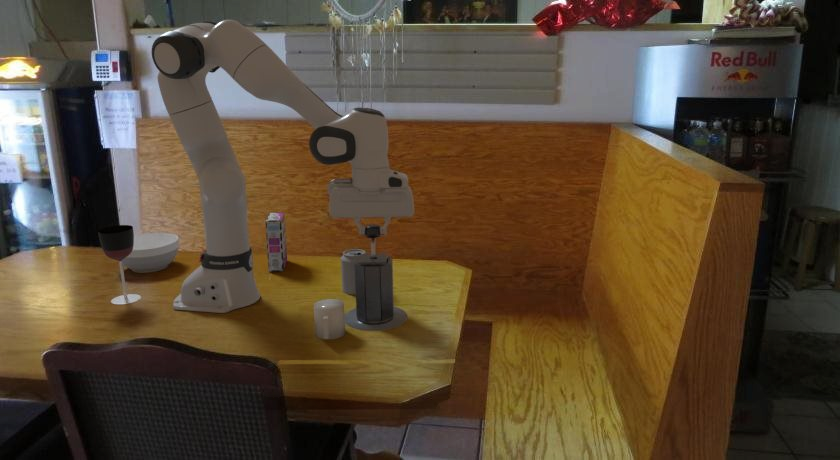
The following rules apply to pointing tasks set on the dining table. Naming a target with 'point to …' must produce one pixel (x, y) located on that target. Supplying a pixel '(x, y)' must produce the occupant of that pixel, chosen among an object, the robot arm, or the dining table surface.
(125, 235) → the wineglass
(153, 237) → the bowl
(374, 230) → the plunger
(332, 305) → the white rounded cylinder
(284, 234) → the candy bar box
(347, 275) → the can
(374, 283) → the carafe
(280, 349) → the dining table surface
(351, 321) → the coaster
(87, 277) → the dining table surface
